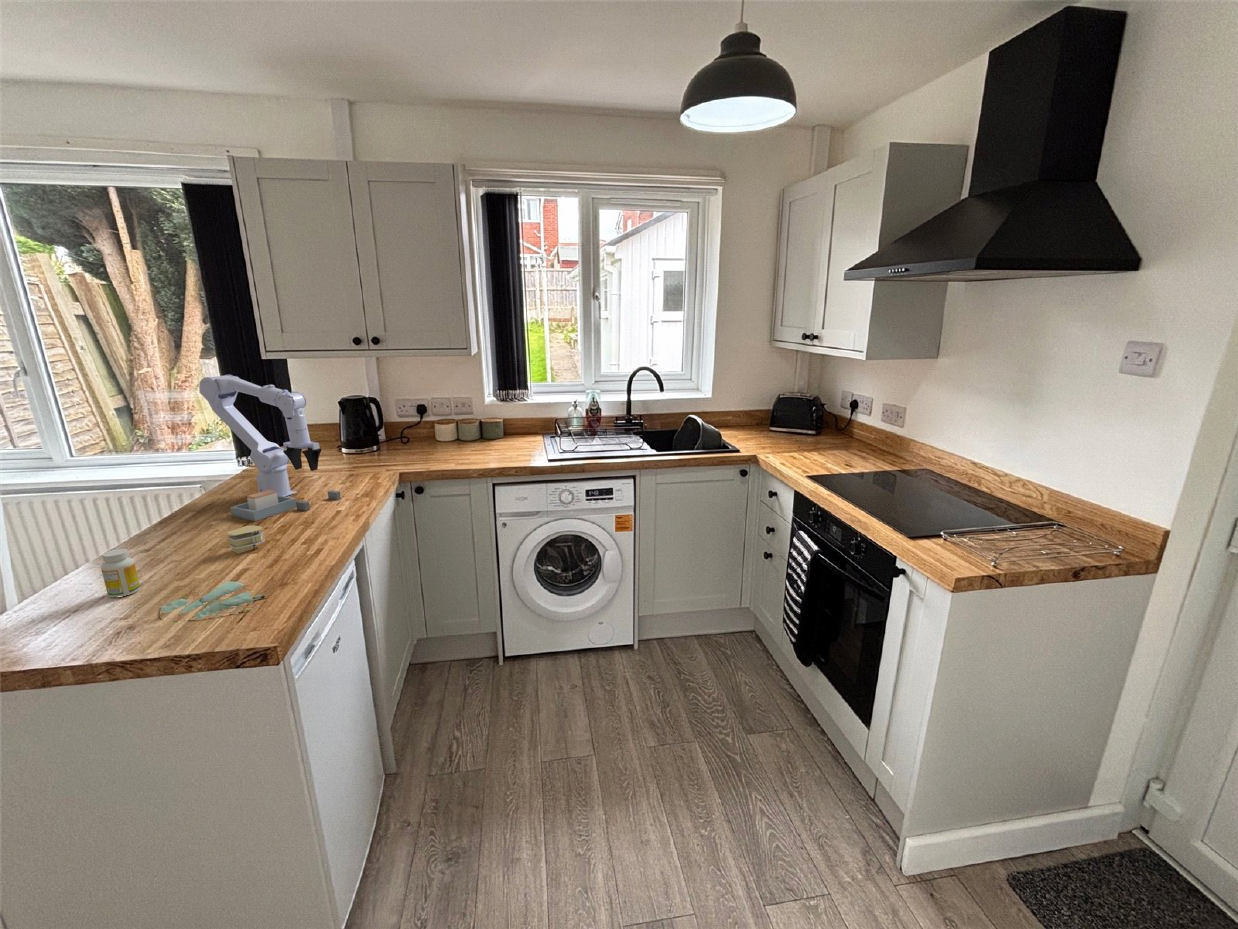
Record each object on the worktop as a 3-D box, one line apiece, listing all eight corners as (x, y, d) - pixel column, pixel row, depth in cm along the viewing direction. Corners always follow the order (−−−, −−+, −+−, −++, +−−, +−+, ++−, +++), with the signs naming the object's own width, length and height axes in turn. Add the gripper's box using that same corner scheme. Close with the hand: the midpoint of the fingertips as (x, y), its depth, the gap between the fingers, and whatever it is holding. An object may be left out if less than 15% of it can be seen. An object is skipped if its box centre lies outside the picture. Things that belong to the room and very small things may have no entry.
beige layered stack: (236, 560, 136) (232, 540, 135) (219, 552, 141) (215, 532, 139) (278, 546, 144) (274, 527, 143) (260, 539, 149) (257, 520, 148)
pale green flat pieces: (142, 613, 112) (140, 602, 112) (256, 572, 130) (254, 563, 130) (186, 643, 102) (183, 631, 101) (303, 594, 120) (301, 584, 119)
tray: (231, 516, 166) (230, 507, 165) (274, 503, 178) (273, 494, 177) (255, 521, 162) (253, 511, 161) (297, 507, 174) (295, 498, 173)
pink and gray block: (250, 512, 167) (246, 495, 166) (271, 505, 173) (268, 489, 172) (257, 514, 166) (254, 497, 164) (279, 507, 172) (276, 490, 170)
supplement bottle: (110, 601, 116) (99, 560, 113) (106, 593, 119) (95, 553, 117) (143, 592, 120) (133, 551, 117) (138, 584, 123) (128, 545, 121)
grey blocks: (296, 509, 172) (295, 501, 171) (332, 497, 183) (331, 490, 183) (305, 510, 170) (304, 503, 170) (340, 498, 182) (339, 491, 181)
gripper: (271, 431, 178) (280, 471, 181) (302, 432, 172) (310, 473, 176) (291, 427, 184) (299, 466, 188) (321, 428, 178) (329, 468, 182)
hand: (306, 469), depth 182 cm, fingers open, 7 cm apart
